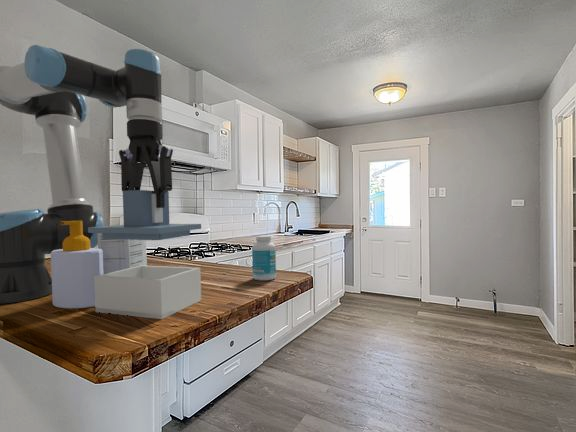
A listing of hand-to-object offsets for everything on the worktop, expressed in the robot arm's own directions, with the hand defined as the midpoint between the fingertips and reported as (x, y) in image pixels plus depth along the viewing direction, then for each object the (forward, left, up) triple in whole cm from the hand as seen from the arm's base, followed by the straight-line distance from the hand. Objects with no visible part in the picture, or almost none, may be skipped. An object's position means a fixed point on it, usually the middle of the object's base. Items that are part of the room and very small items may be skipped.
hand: (147, 222), depth 75 cm
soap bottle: (-19, -3, -20) cm, 27 cm away
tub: (0, 0, -20) cm, 20 cm away
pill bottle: (+15, +33, -20) cm, 41 cm away
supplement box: (-20, +12, -20) cm, 30 cm away
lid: (0, 0, -3) cm, 3 cm away
